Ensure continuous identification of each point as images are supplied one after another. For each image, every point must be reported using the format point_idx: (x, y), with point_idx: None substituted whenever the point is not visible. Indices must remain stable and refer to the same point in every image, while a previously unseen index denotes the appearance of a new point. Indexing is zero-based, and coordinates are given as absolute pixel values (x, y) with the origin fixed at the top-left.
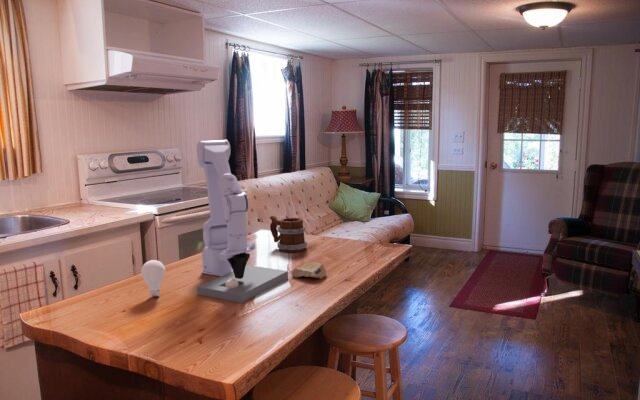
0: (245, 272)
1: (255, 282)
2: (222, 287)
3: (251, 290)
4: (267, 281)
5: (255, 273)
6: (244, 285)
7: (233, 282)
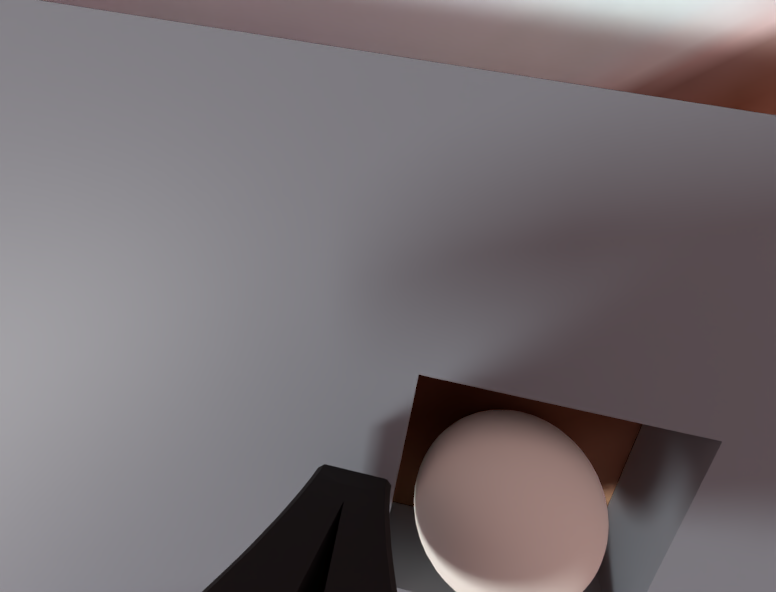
0: (52, 517)
1: (353, 219)
2: (692, 585)
3: (730, 113)
4: (223, 29)
5: (16, 392)
6: (546, 330)
7: (571, 518)
